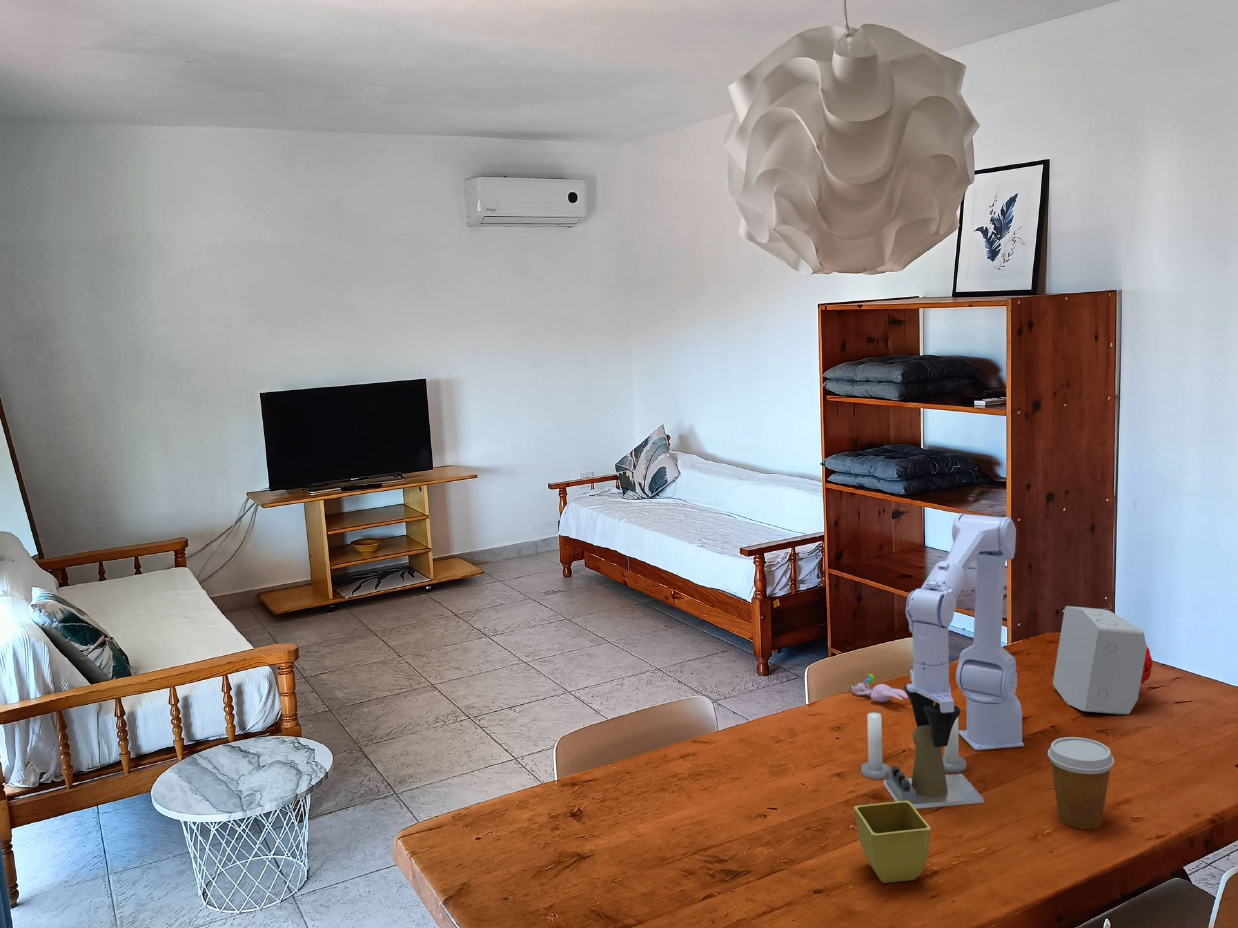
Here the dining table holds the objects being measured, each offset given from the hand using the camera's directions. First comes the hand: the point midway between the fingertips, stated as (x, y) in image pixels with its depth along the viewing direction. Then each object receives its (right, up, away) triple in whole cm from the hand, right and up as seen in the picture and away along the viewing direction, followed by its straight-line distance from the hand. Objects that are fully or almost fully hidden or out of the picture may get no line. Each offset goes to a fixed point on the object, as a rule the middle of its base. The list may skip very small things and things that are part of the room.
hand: (931, 736), depth 165 cm
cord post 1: (-7, -10, +10) cm, 15 cm away
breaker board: (+1, -10, +2) cm, 10 cm away
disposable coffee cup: (+21, -11, -9) cm, 25 cm away
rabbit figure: (+2, -5, +42) cm, 42 cm away
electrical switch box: (+47, -3, +35) cm, 59 cm away
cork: (0, -10, +2) cm, 10 cm away
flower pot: (-12, -15, -21) cm, 28 cm away
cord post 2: (+7, -9, +11) cm, 15 cm away
